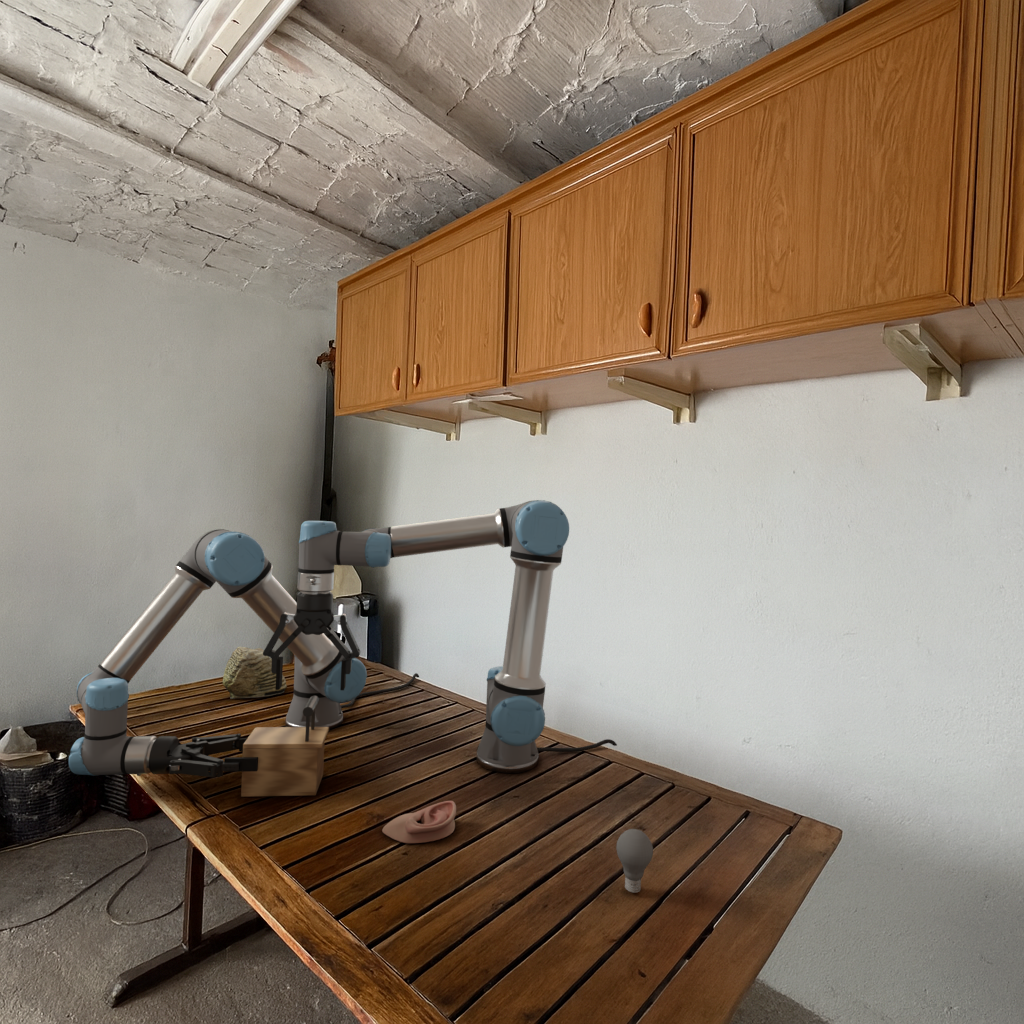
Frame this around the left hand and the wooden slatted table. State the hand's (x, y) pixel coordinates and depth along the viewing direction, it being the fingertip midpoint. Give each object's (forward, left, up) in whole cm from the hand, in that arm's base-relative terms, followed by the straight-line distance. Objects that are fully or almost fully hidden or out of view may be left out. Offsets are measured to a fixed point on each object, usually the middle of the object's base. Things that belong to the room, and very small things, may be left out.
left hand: (263, 753), depth 137 cm
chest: (-3, +3, -7) cm, 8 cm away
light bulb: (-21, +78, -7) cm, 81 cm away
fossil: (-31, -58, -7) cm, 66 cm away
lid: (-3, +3, +3) cm, 6 cm away
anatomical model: (-11, +38, -7) cm, 40 cm away
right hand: (-7, +6, +14) cm, 17 cm away
